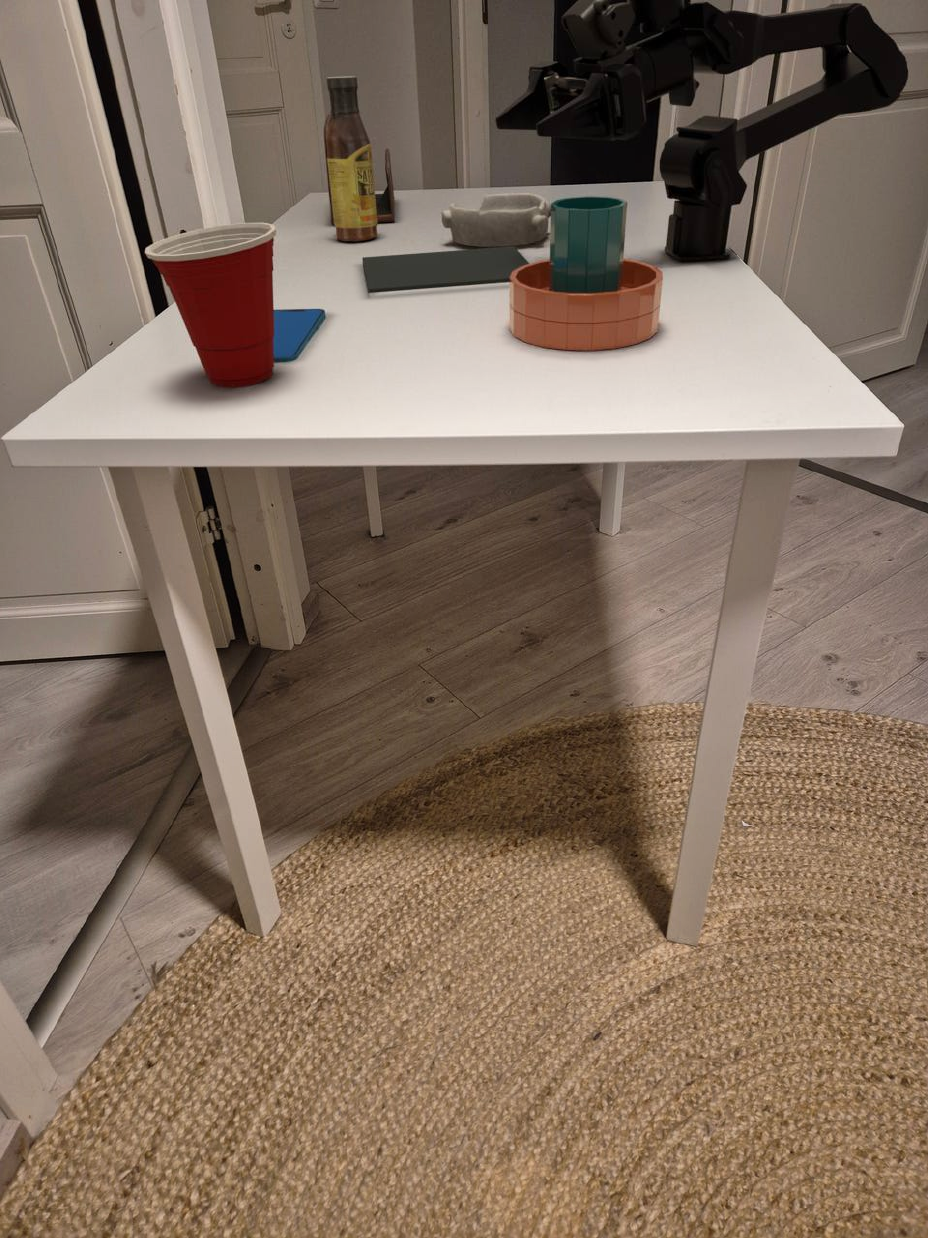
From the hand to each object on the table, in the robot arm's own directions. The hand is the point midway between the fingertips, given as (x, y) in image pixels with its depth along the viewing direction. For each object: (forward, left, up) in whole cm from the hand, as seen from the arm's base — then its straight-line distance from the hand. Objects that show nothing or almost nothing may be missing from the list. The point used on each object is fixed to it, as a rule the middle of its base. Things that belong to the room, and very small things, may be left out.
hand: (516, 126), depth 87 cm
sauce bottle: (+17, -32, -16) cm, 40 cm away
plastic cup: (+30, +24, -16) cm, 42 cm away
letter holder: (+15, -52, -16) cm, 57 cm away
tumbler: (-3, +20, -15) cm, 25 cm away
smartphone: (+27, +13, -17) cm, 34 cm away
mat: (+7, -7, -16) cm, 19 cm away
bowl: (-3, +20, -16) cm, 26 cm away
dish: (-3, -24, -16) cm, 29 cm away
